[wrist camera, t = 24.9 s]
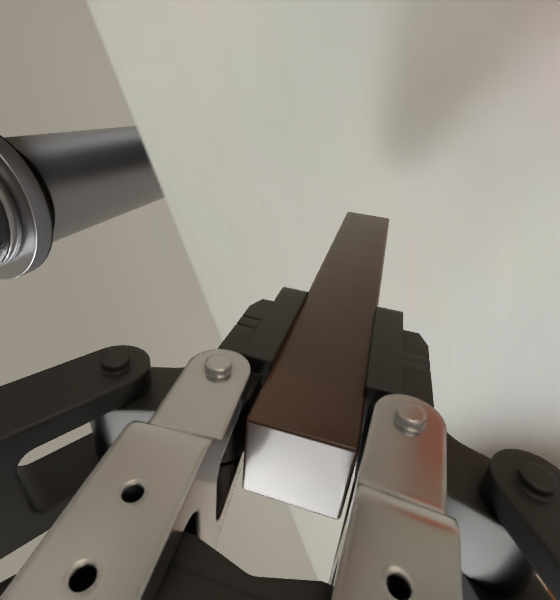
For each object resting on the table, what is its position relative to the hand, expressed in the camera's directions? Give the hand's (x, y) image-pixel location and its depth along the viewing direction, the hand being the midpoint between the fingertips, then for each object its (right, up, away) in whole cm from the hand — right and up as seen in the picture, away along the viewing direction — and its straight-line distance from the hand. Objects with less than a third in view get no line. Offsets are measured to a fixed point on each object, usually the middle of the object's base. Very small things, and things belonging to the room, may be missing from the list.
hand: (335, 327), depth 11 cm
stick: (+2, +4, +8) cm, 9 cm away
